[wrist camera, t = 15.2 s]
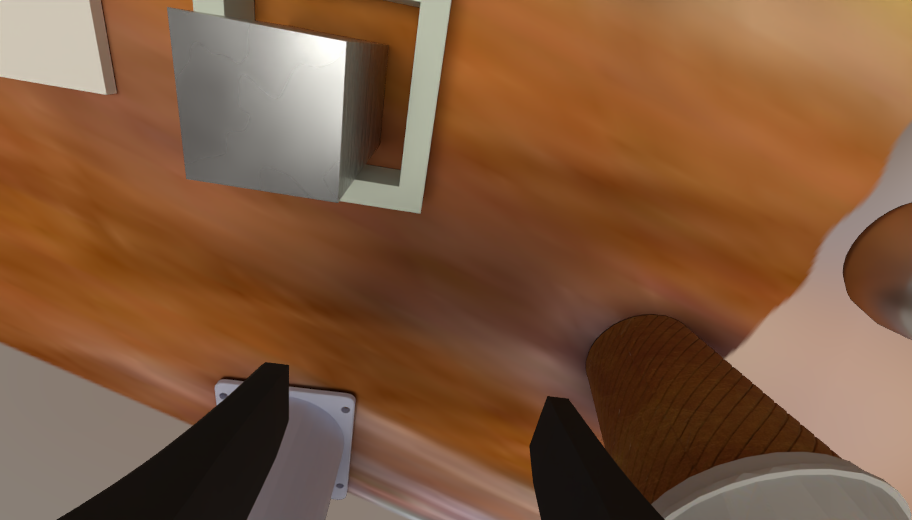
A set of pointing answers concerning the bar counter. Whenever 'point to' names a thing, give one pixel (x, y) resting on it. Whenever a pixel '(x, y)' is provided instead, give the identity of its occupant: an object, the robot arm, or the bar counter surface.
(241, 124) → the pin block
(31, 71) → the pad
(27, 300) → the bar counter surface
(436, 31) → the frame
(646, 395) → the disposable coffee cup
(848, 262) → the plastic bottle
